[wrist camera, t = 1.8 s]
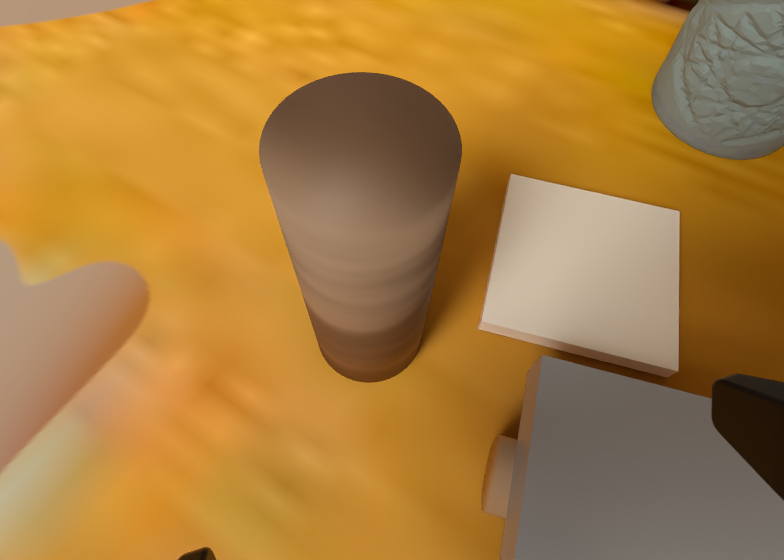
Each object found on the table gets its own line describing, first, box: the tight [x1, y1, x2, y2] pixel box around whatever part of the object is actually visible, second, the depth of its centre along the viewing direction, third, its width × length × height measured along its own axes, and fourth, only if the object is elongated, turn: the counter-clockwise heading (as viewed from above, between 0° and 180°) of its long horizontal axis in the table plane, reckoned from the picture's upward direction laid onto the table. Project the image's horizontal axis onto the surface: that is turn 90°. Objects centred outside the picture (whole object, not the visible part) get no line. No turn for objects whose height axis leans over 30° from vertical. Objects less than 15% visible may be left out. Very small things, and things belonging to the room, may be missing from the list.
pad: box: [478, 174, 680, 377], centre depth 25 cm, size 9×9×1 cm
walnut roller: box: [259, 72, 462, 382], centre depth 18 cm, size 5×5×13 cm
